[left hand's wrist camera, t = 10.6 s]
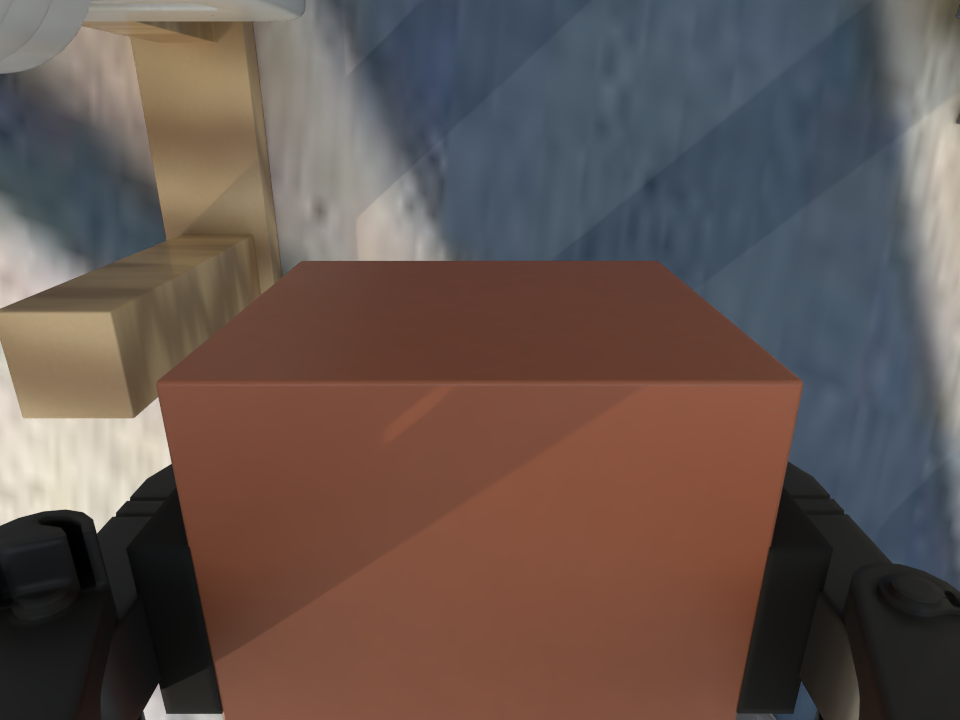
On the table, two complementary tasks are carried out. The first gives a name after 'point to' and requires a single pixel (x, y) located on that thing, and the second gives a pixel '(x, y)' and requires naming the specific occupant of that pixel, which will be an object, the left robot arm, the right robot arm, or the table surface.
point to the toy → (958, 15)
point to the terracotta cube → (479, 492)
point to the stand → (189, 231)
